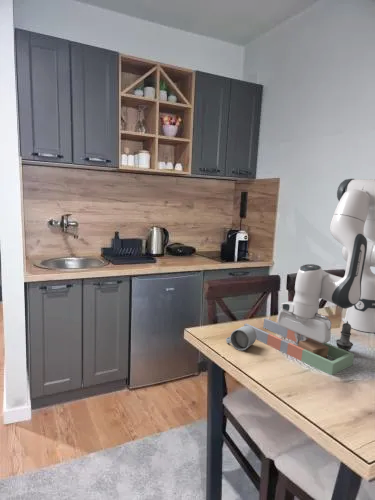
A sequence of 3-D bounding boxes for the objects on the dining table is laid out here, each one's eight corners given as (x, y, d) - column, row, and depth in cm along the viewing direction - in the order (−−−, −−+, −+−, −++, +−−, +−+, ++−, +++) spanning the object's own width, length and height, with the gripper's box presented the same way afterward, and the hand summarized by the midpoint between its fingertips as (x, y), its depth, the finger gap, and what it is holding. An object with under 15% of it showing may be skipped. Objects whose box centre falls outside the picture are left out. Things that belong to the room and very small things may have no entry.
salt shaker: (353, 356, 125) (358, 325, 123) (336, 354, 126) (340, 322, 124) (349, 349, 130) (353, 319, 129) (333, 347, 132) (337, 317, 130)
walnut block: (311, 352, 126) (313, 339, 125) (326, 360, 120) (328, 347, 119) (297, 354, 123) (298, 341, 122) (311, 363, 117) (313, 350, 116)
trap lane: (265, 327, 148) (266, 318, 147) (352, 364, 118) (354, 353, 118) (243, 333, 140) (244, 323, 139) (331, 375, 110) (333, 363, 109)
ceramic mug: (257, 345, 129) (258, 326, 127) (248, 353, 122) (250, 332, 121) (231, 338, 134) (232, 319, 133) (221, 345, 127) (223, 325, 126)
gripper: (336, 316, 118) (331, 354, 120) (287, 300, 134) (283, 333, 136) (326, 320, 114) (321, 359, 116) (277, 302, 130) (273, 337, 132)
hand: (300, 345), depth 126 cm, fingers closed
